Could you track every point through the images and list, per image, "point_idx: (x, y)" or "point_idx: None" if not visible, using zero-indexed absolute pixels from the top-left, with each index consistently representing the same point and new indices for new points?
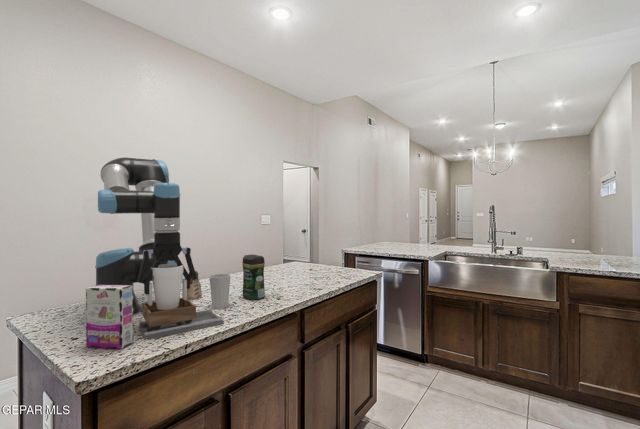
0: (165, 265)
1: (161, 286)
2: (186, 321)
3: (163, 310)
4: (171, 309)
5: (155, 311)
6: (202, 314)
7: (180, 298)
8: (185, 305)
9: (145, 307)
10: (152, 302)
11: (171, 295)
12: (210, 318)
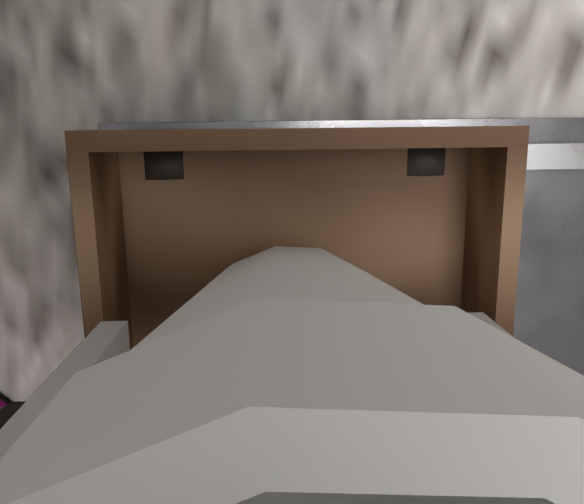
0: (375, 471)
1: None
2: None
3: (278, 164)
4: (347, 174)
5: (208, 154)
6: (575, 172)
7: (469, 144)
8: (475, 206)
9: (85, 314)
10: (167, 141)
11: None
12: (581, 312)
